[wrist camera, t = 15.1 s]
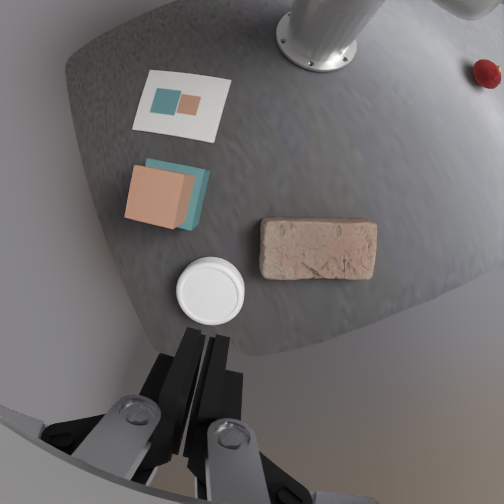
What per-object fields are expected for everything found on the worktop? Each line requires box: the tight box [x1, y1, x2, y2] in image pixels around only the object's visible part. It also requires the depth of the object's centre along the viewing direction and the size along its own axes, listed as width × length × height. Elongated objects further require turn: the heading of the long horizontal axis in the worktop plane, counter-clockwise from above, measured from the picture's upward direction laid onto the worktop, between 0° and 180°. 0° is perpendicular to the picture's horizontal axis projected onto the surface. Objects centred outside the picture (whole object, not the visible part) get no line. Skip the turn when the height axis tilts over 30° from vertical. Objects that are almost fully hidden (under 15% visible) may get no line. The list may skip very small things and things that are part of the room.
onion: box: [473, 59, 501, 89], centre depth 30 cm, size 6×6×8 cm
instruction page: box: [132, 70, 232, 143], centre depth 37 cm, size 10×13×1 cm
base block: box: [145, 158, 210, 231], centre depth 38 cm, size 8×8×5 cm
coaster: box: [176, 257, 245, 325], centre depth 43 cm, size 10×10×4 cm
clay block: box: [125, 165, 195, 229], centre depth 33 cm, size 6×6×6 cm
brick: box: [259, 217, 377, 280], centre depth 40 cm, size 17×8×5 cm, turn 90°
